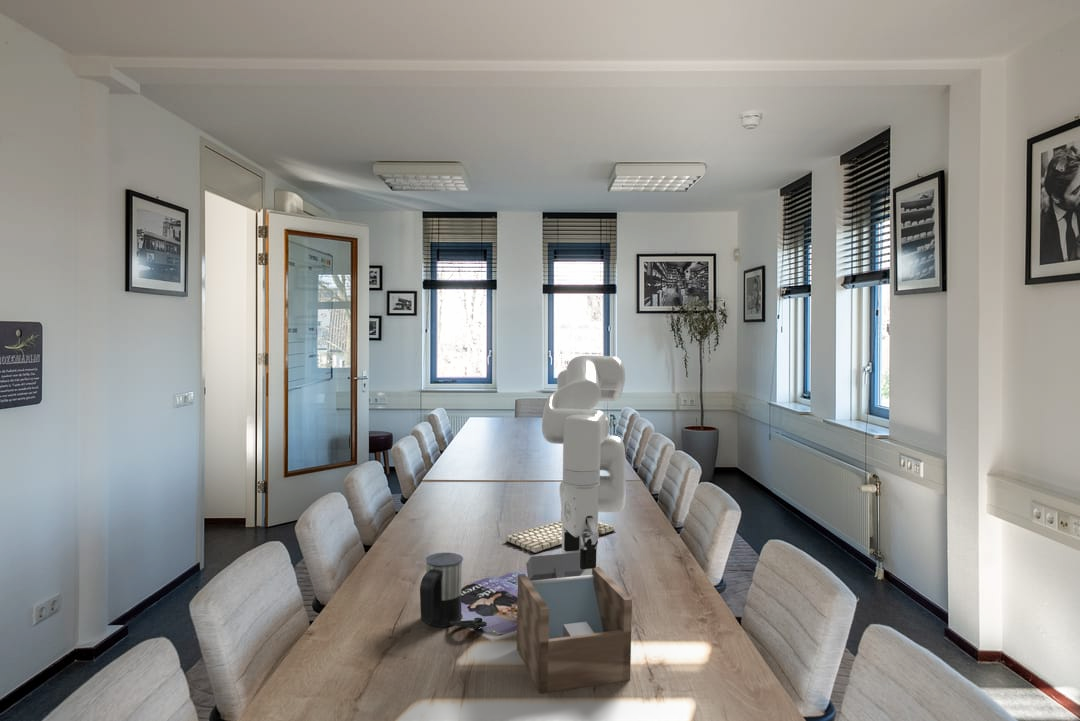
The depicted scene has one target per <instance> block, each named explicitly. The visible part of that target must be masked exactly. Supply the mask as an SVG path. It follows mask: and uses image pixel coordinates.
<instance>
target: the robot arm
mask: <svg viewBox="0 0 1080 721" xmlns="http://www.w3.org/2000/svg"><path fill="white" fill-rule="evenodd" d="M556 380H557V381H556V383H557V386H556V387H557V390H555V391H553V392H552V393H551V394H550V395H549V396H548V397H547V399H546V400H545V403H544V407H543V413H542V417H541V418H542V419H541V420H542V421H541V432H542V433H541V434H542V436H543V438H544V439H545V441H547V442H548V443H551V444H555V445H556V444H557V445H560V444H562V480H561V482H560V484H559V498H560V508H561V511H560V521H561V524H562V548H561V554H567V553H579V552H580V568H581V569H585V570H584V571H583V572H582V573H581V575H580V576H584V575H592V568H596V567H598V544H599V542H598V540H599V538H598V536H599V532H598V523H599V513H619V512H621V511H622V510H623V509H624V507H625V506H626V505H625V504H626V489H627V488H626V446H625V443H624V441H623V439H622V438H621V437H619V436H617V435H612V434H609V433H610V420H609V418H608V417H607V415H606V414H605V413H604V411H602V410H600V409H594V408H595V407H596V406H597V405H598V403H599V402H616V401H618V400H620V398H621V397H622V394H623V390H624V386H625V381H626V370H625V366H624V363H623V361H622V360H621V359H620V358H618V357H617V356H613V355H611V356H610V355H579V356H576V357H574V358H572V359H571V360H570V361H569V362H568V364H567V366H566V369H565V370H562V371H560V372H559V373H558V375H557V379H556ZM601 471H605V472H606V473H608V475H601Z"/></svg>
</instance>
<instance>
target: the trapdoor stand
mask: <svg viewBox="0 0 1080 721" xmlns="http://www.w3.org/2000/svg"><path fill="white" fill-rule="evenodd" d="M592 575H594V580H593V584H594V588H595V593H596V598H597V603H598V608H599V613H600V618H601V623H602V628H603V632H600V633H592V634H584V635H576V636H569V637H561V638H553V639H548V637H549V608H548V606H547V605H546V604H545V602H544V601H543V599H542V598H541V596H540V595H539V593H538V592H537V591H536V589H535V588H534V586H533V585H532V583H531V582H530V580H529V579H528V575H526V573H519V574H517V600H516V601H517V602H516V603H517V604H516V606H517V608H516V610H517V611H516V613H517V614H516V650H517V652H518V653H519V656H520V657H521V659H522V662H523V663H524V665H525V667H526V670H527V672H528V674H529V675H530V678H531V680H532V681H533V683H534V686H535V687H536V689H537V692H538V694H546V693H551V692H559V691H564V690H572V689H578V688H584V687H585V688H586V687H591V686H597V685H604V684H611V683H618V682H619V683H620V682H625V681H630V680H631V659H632V658H631V657H632V655H631V653H632V623H633V622H632V617H633V615H632V614H633V599H632V598H631V597H630V596H629V595H628V594H627V592H625V591H624V590H623V589H622V587H620V586H619V585H618V584H617V583H616V582H615V581H614V580H613V579H612V578H611V577H610V576H609V575H608V574H607V573H606V572H605V571H604V570H603V569H601V567H599V566H597V567H596V568H592Z"/></svg>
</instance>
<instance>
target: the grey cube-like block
mask: <svg viewBox="0 0 1080 721" xmlns="http://www.w3.org/2000/svg"><path fill="white" fill-rule="evenodd" d="M592 633H594V632H593V631H592V629H591V628H590V626H589V625H588V624H587V622H579V623H571V624H563V637H569V636H576V635H584V634H592Z"/></svg>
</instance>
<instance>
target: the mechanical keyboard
mask: <svg viewBox="0 0 1080 721" xmlns="http://www.w3.org/2000/svg"><path fill="white" fill-rule="evenodd" d="M598 532H599V536H598V539H601V538H604V537H608V536H610V535H613V534H616V533H617V532H616V531H615V527H614V526H613V525H609V524H608V523H603V522H598ZM504 544H506V545H509V546H510V547H513V548H515V549H517V550H520V551H521V550H522V551H524V552H528V553H532V554H537V555H538V554H541V553H544V552H545V553H546V552H552V551H555V550H558V549H562V524H561V520H558V521H555V522H551V523H548V524H544V525H541V526H538V527H534V528H529V529H528V530H523V531H522V532H521V531H520V532H517V533H513V534H509V535H506V538H505V540H504Z"/></svg>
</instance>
